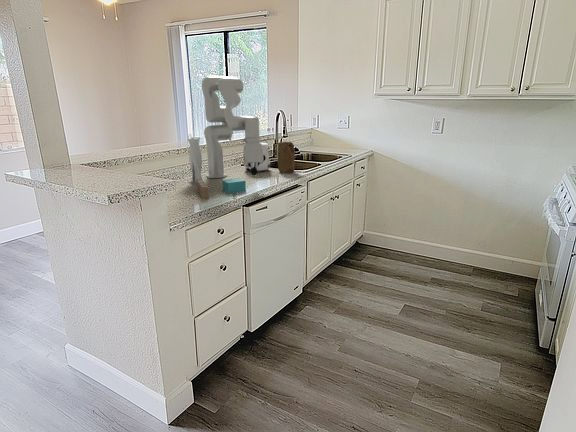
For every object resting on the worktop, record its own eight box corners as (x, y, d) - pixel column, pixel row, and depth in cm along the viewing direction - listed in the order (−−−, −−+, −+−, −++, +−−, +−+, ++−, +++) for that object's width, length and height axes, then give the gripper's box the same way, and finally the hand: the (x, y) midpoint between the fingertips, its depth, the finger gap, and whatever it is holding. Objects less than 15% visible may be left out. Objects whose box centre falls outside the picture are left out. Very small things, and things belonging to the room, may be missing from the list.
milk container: (271, 168, 265) (271, 142, 259) (268, 173, 249) (267, 145, 243) (247, 168, 267) (246, 142, 261) (242, 173, 250) (241, 145, 244)
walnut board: (196, 189, 209) (196, 179, 207) (202, 189, 210) (201, 178, 208) (202, 198, 191) (201, 187, 189) (208, 198, 192) (208, 186, 190)
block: (276, 172, 251) (276, 142, 245) (281, 170, 258) (280, 140, 252) (292, 173, 248) (292, 142, 241) (296, 171, 254) (296, 141, 248)
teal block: (222, 190, 207) (222, 180, 205) (239, 188, 212) (239, 178, 210) (228, 194, 200) (227, 183, 198) (245, 191, 205) (245, 180, 203)
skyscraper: (187, 182, 226) (183, 134, 217) (199, 180, 231) (196, 133, 222) (193, 184, 220) (189, 135, 211) (206, 182, 225) (202, 134, 216)
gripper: (240, 142, 195) (242, 177, 201) (268, 140, 201) (269, 174, 206) (237, 140, 202) (239, 174, 208) (263, 139, 207) (265, 172, 213)
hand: (254, 174), depth 207 cm, fingers closed
